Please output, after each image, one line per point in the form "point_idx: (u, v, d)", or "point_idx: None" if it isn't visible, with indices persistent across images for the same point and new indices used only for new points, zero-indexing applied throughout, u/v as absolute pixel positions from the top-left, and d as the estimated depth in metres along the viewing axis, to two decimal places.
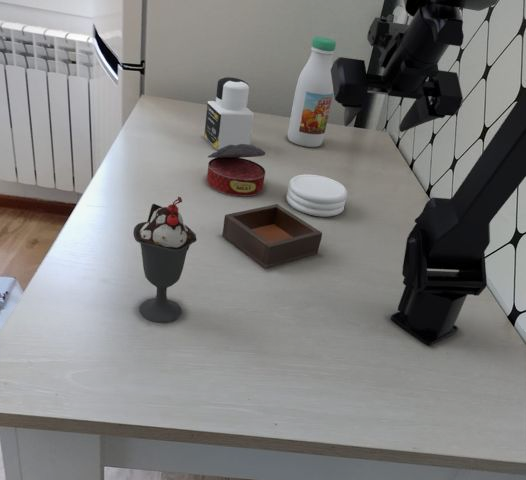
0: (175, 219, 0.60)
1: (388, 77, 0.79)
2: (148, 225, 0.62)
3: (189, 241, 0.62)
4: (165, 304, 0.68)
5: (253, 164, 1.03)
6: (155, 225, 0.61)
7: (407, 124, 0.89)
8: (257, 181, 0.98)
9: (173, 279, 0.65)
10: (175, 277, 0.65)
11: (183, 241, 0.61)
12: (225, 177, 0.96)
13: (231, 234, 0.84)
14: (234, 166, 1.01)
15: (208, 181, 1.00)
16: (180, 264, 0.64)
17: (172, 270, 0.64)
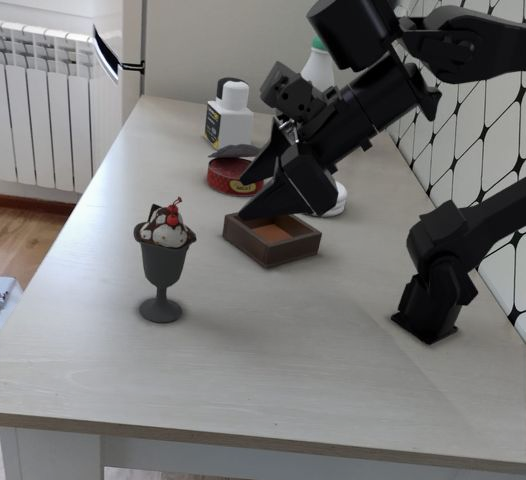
0: (175, 219, 0.60)
1: (331, 155, 0.59)
2: (148, 225, 0.62)
3: (189, 241, 0.62)
4: (165, 304, 0.68)
5: None
6: (155, 225, 0.61)
7: (261, 177, 0.67)
8: None
9: (173, 279, 0.65)
10: (175, 277, 0.65)
11: (183, 241, 0.61)
12: (225, 177, 0.96)
13: (231, 234, 0.84)
14: (234, 166, 1.01)
15: (208, 181, 1.00)
16: (180, 264, 0.64)
17: (172, 270, 0.64)
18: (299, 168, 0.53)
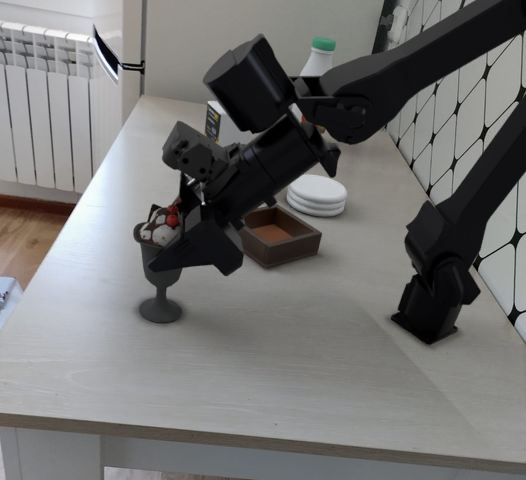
0: (175, 219, 0.60)
1: (237, 212, 0.59)
2: (148, 225, 0.62)
3: None
4: (165, 304, 0.68)
5: None
6: (155, 225, 0.61)
7: None
8: None
9: (173, 279, 0.65)
10: (175, 277, 0.65)
11: None
12: None
13: None
14: None
15: None
16: None
17: (172, 270, 0.64)
18: (202, 233, 0.53)
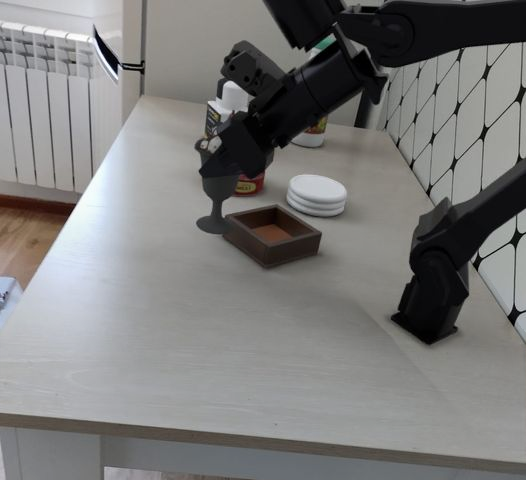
0: None
1: (280, 129, 0.64)
2: (208, 137, 0.69)
3: None
4: (218, 219, 0.74)
5: None
6: (212, 136, 0.68)
7: None
8: (257, 180, 0.98)
9: (223, 192, 0.71)
10: (225, 190, 0.70)
11: None
12: None
13: (231, 234, 0.84)
14: None
15: None
16: (231, 178, 0.70)
17: (222, 182, 0.70)
18: (228, 130, 0.58)
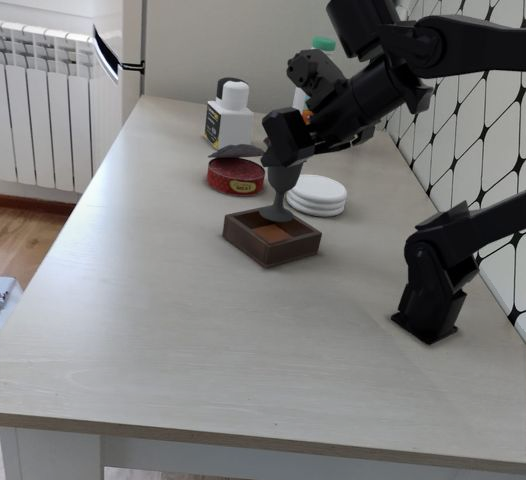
0: None
1: (328, 129, 0.69)
2: None
3: None
4: (278, 208, 0.82)
5: (253, 164, 1.03)
6: None
7: None
8: (257, 180, 0.98)
9: (282, 183, 0.78)
10: (284, 182, 0.78)
11: None
12: (225, 177, 0.96)
13: (231, 234, 0.84)
14: (234, 166, 1.01)
15: (208, 181, 1.00)
16: (289, 171, 0.77)
17: (281, 173, 0.77)
18: (270, 120, 0.66)
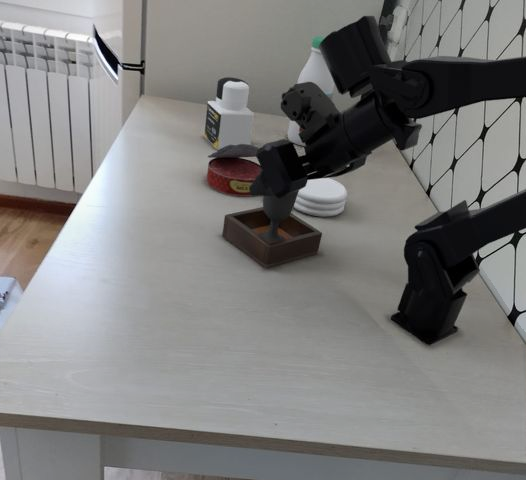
0: None
1: (321, 160, 0.72)
2: None
3: None
4: (273, 236, 0.84)
5: (253, 164, 1.03)
6: None
7: None
8: None
9: (276, 213, 0.81)
10: (278, 212, 0.81)
11: None
12: (225, 177, 0.96)
13: (231, 234, 0.84)
14: (234, 166, 1.01)
15: (208, 181, 1.00)
16: (283, 202, 0.79)
17: (275, 204, 0.80)
18: (264, 153, 0.69)
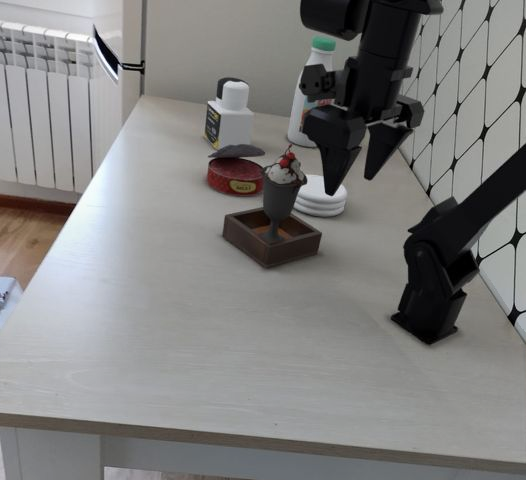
0: (284, 161, 0.76)
1: (368, 103, 0.65)
2: (273, 164, 0.79)
3: (292, 184, 0.77)
4: (273, 236, 0.84)
5: (253, 164, 1.03)
6: (274, 164, 0.78)
7: (377, 165, 0.75)
8: (257, 180, 0.98)
9: (276, 213, 0.81)
10: (278, 212, 0.81)
11: (285, 181, 0.77)
12: (225, 177, 0.96)
13: (231, 234, 0.84)
14: (234, 166, 1.01)
15: (208, 181, 1.00)
16: (283, 202, 0.80)
17: (275, 204, 0.80)
18: (306, 122, 0.63)
